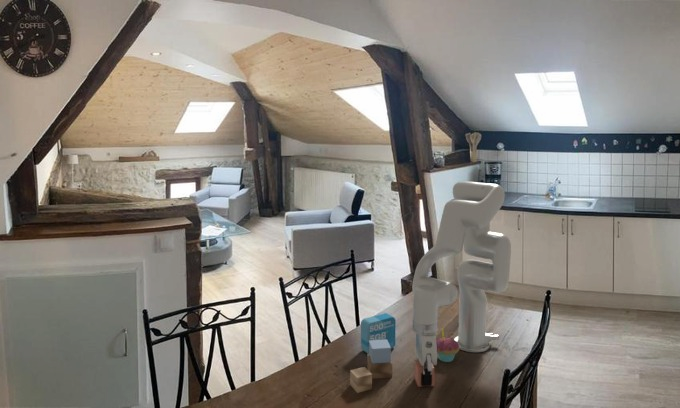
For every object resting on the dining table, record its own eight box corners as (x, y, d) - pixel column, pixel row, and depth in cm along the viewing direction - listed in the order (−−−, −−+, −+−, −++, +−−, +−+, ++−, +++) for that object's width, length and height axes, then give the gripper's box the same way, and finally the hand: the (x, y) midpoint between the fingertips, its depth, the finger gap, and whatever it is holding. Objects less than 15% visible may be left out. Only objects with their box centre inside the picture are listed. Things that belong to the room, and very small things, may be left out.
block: (364, 381, 156) (364, 366, 155) (372, 389, 152) (371, 374, 151) (350, 385, 154) (350, 370, 153) (357, 393, 150) (357, 377, 149)
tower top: (387, 353, 164) (387, 339, 163) (390, 362, 158) (390, 347, 157) (369, 354, 163) (369, 340, 162) (372, 363, 157) (372, 348, 157)
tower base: (388, 366, 165) (388, 352, 164) (392, 377, 158) (392, 363, 158) (367, 367, 165) (367, 353, 164) (370, 378, 158) (370, 364, 157)
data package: (367, 356, 172) (367, 323, 170) (360, 351, 176) (360, 319, 174) (395, 347, 178) (395, 316, 176) (388, 342, 182) (388, 312, 180)
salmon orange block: (429, 377, 158) (430, 359, 157) (434, 385, 153) (434, 367, 152) (414, 378, 158) (414, 360, 157) (418, 386, 153) (418, 368, 152)
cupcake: (444, 367, 164) (445, 333, 162) (428, 356, 172) (428, 323, 170) (464, 360, 168) (465, 327, 166) (447, 350, 176) (448, 318, 174)
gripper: (444, 337, 144) (443, 394, 147) (430, 314, 161) (429, 366, 164) (419, 338, 144) (418, 396, 147) (407, 315, 160) (406, 367, 163)
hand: (424, 379), depth 155 cm, fingers closed on salmon orange block, 5 cm apart
